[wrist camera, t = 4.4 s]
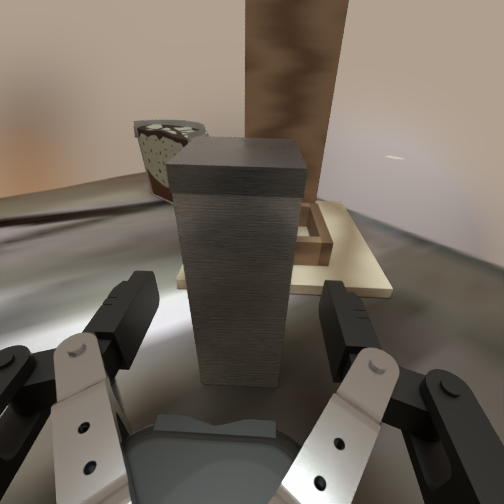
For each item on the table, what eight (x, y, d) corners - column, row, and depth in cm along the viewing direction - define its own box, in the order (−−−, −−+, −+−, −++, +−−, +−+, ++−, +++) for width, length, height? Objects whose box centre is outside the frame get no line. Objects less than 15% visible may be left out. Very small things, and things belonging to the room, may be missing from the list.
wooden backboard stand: (177, 288, 23) (109, -90, 11) (212, 203, 38) (199, 4, 26) (389, 297, 22) (550, -86, 11) (339, 208, 37) (384, 7, 26)
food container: (232, 202, 38) (230, 126, 33) (199, 216, 34) (190, 133, 29) (179, 182, 45) (170, 116, 39) (146, 192, 41) (131, 120, 35)
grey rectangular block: (200, 384, 16) (165, 163, 9) (213, 324, 20) (196, 136, 12) (277, 388, 16) (308, 168, 8) (275, 327, 20) (294, 139, 12)
